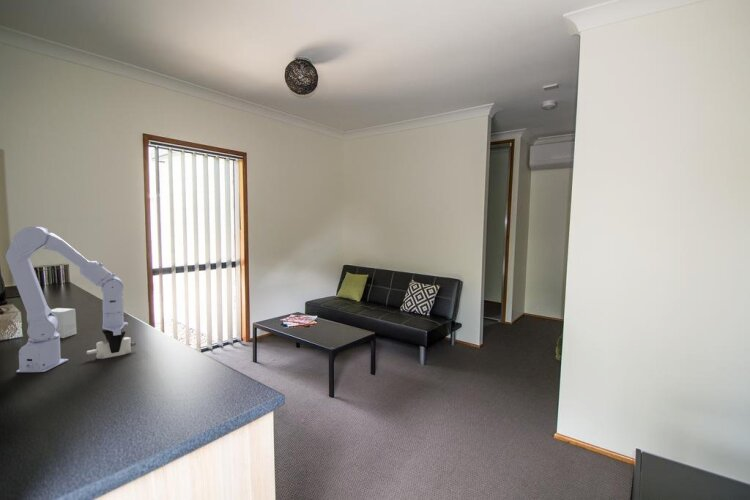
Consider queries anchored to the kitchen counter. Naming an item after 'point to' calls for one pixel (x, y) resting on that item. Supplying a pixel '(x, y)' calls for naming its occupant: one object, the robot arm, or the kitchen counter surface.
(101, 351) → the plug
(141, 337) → the kitchen counter surface
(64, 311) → the small box
